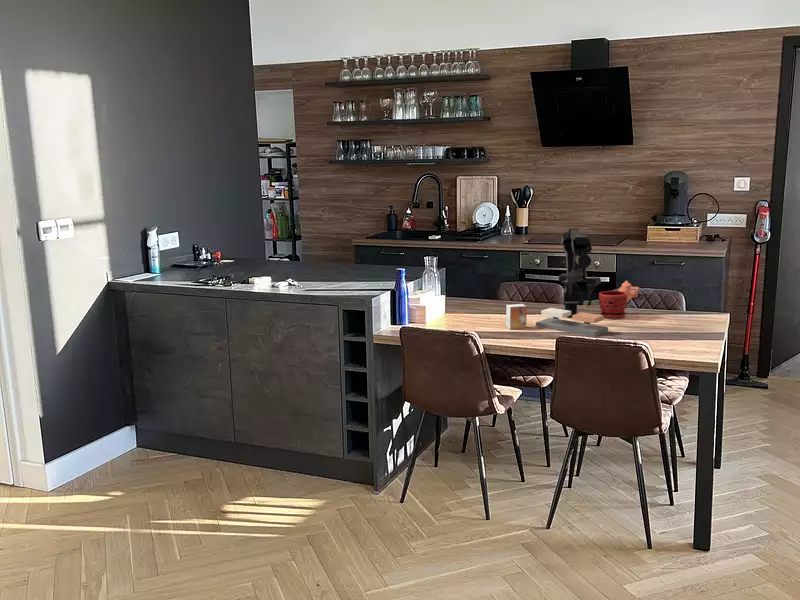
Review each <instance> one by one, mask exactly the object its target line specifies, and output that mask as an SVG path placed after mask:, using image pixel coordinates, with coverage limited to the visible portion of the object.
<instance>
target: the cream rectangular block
mask: <svg viewBox="0 0 800 600" xmlns="http://www.w3.org/2000/svg"><path fill="white" fill-rule="evenodd" d="M540 311H541V312H540V315H541V316H545V317H550V318H553V319H564V318H568V317H567V316H570V315H571V311H569V310H565V309H560V308H555V307H548V308H546V309H542V310H540Z"/></svg>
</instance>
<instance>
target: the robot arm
mask: <svg viewBox="0 0 800 600" xmlns="http://www.w3.org/2000/svg"><path fill="white" fill-rule="evenodd" d="M560 245H561V246H562V251H564V253H565V256H566V259H565V260H566V273H561V274H560V275H558V281H559V282H560V283H561V284H563V285H564V286H565V288H564V289H563V291H564V292H562V297H561V304H562V306H563V305H564V310H569V311H571V315H570V316H567V317H566V318H571V319H572V315H575V314H578V305H579V306H581V305H582V302H583V301H582V300H583V293H582V292H581V287H580V285H579V284H578V282H584V283H587V284H586V287H587V288H586V290H587V291H586V300H589V299H590V298H591V296H592V293H593V291H594V290H595V288H596V287H597V286H598V285H600V284H602V283H601V282H602V279H601V277H598V276H590V277H588V274H587V269H588V268H589V266H590V265H591V263H592V259H591V257H590V256H589V255H588V253H592V249H593V248H592V247H593V246H592V242H591V239H590V238H589V237H588V235H582V233H581V232H580V229H579V228H577V227H576V228H574V227H573V228H570V227H569V228H568V229H567V230H566V232H565V233H563V234H562V237H561V239H560Z"/></svg>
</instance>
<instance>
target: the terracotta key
mask: <svg viewBox="0 0 800 600" xmlns="http://www.w3.org/2000/svg"><path fill="white" fill-rule="evenodd" d="M571 320H572V321H576V322H582V323H585V324H596V323H599V322H602V321H604V317H603V315H601V314H594V313H588V312H582V311H581V312H579V313H578V312H577V314H575V315H572V318H571Z"/></svg>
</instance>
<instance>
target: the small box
mask: <svg viewBox="0 0 800 600" xmlns="http://www.w3.org/2000/svg"><path fill="white" fill-rule="evenodd" d="M527 311H528V310H527V305H525V304H523V303H517V304H506V315H505V317H506V318H505V319H506V320H505V326H506V327H507V328H508V329H509V330H513V329H514V330H515V329H516V330H517V329H521V330H522V329H527V317H528V316H527V314H528V313H527ZM506 327H505V328H506Z"/></svg>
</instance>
